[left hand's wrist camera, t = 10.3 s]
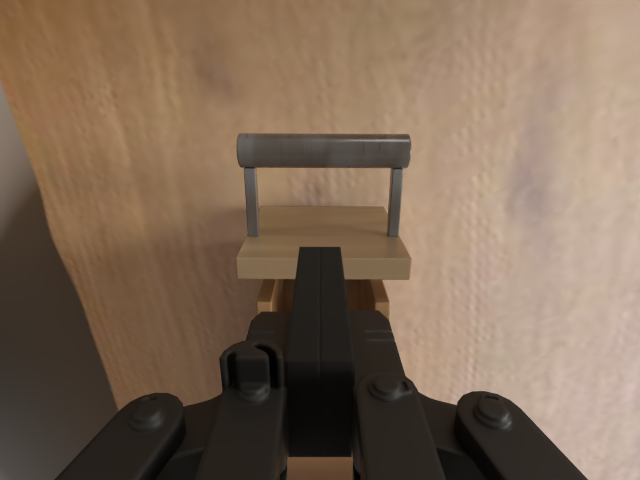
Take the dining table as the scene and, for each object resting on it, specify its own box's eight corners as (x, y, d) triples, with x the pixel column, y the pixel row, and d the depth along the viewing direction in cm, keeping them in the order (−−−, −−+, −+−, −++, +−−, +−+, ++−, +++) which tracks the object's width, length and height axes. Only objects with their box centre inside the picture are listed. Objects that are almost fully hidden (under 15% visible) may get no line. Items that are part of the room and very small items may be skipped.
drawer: (256, 124, 27) (224, 141, 18) (390, 124, 27) (424, 142, 18) (269, 393, 35) (252, 497, 26) (373, 393, 35) (391, 497, 26)
